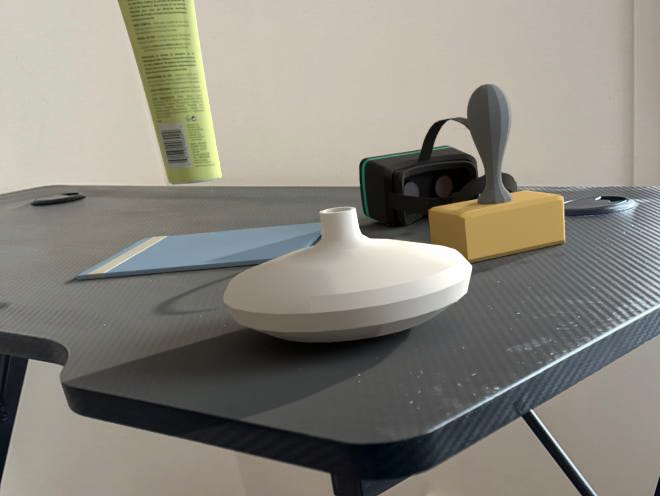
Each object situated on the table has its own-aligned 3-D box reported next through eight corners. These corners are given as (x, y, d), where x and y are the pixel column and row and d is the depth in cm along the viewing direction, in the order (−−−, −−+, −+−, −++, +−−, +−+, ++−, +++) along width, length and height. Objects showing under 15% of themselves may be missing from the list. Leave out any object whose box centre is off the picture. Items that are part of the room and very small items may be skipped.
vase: (196, 336, 62) (168, 222, 58) (396, 287, 69) (382, 182, 65) (301, 384, 51) (274, 247, 47) (526, 320, 58) (519, 196, 54)
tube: (204, 177, 90) (146, -76, 79) (239, 176, 87) (185, -85, 77) (157, 186, 86) (90, -77, 75) (192, 186, 83) (128, -87, 73)
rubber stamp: (465, 265, 74) (448, 90, 67) (431, 256, 78) (413, 91, 71) (567, 243, 77) (562, 76, 71) (529, 235, 82) (521, 77, 75)
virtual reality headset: (455, 202, 100) (451, 95, 93) (544, 239, 89) (546, 121, 82) (362, 218, 95) (352, 108, 89) (443, 260, 84) (438, 137, 78)
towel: (77, 280, 83) (76, 275, 83) (144, 242, 98) (143, 237, 98) (296, 260, 82) (295, 255, 81) (330, 225, 97) (329, 220, 96)
